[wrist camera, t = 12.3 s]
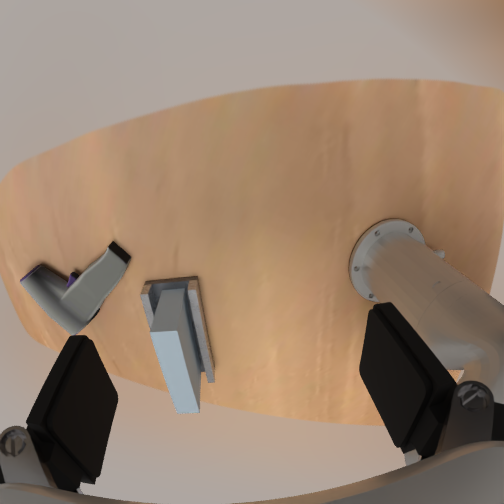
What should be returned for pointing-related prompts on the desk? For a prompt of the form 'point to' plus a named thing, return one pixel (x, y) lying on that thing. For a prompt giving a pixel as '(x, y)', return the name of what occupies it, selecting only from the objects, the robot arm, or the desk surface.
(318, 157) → the desk surface
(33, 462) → the robot arm
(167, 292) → the grey slab
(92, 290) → the infrared thermometer
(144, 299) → the track
